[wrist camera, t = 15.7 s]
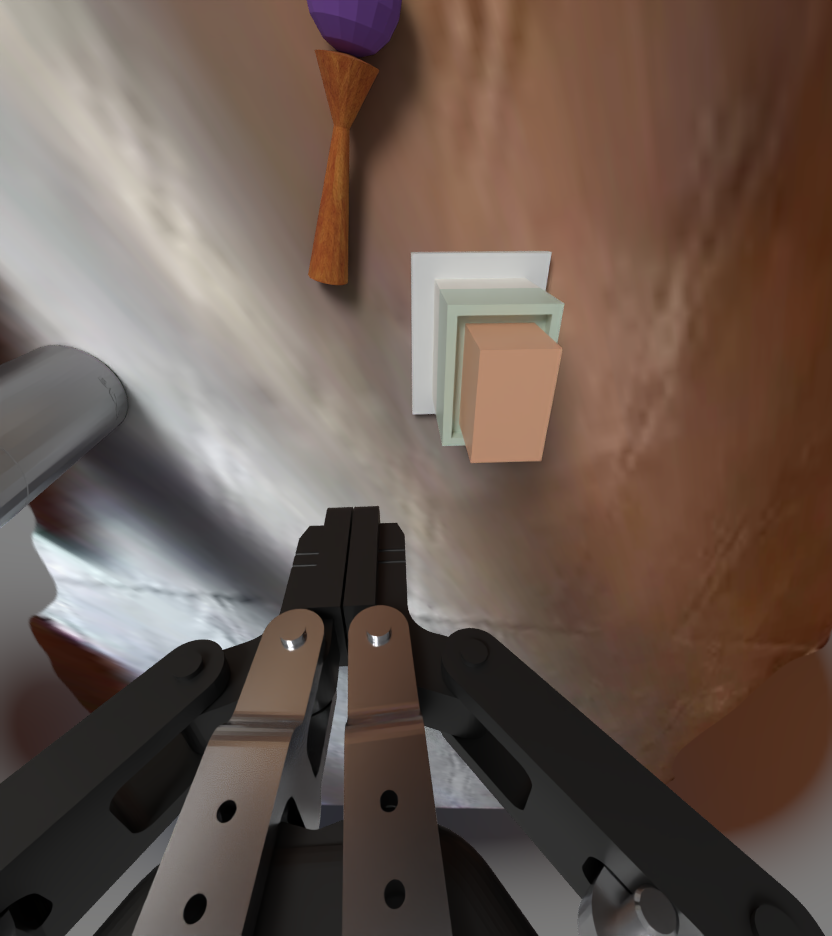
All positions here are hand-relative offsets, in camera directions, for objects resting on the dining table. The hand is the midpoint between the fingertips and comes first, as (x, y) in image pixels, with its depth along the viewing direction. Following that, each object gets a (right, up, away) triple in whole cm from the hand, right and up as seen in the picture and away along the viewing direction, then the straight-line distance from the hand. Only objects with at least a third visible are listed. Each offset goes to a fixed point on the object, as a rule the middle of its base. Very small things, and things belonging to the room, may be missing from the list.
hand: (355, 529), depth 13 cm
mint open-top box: (+7, +14, +28) cm, 32 cm away
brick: (+8, +9, +20) cm, 23 cm away
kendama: (-4, +27, +20) cm, 34 cm away
